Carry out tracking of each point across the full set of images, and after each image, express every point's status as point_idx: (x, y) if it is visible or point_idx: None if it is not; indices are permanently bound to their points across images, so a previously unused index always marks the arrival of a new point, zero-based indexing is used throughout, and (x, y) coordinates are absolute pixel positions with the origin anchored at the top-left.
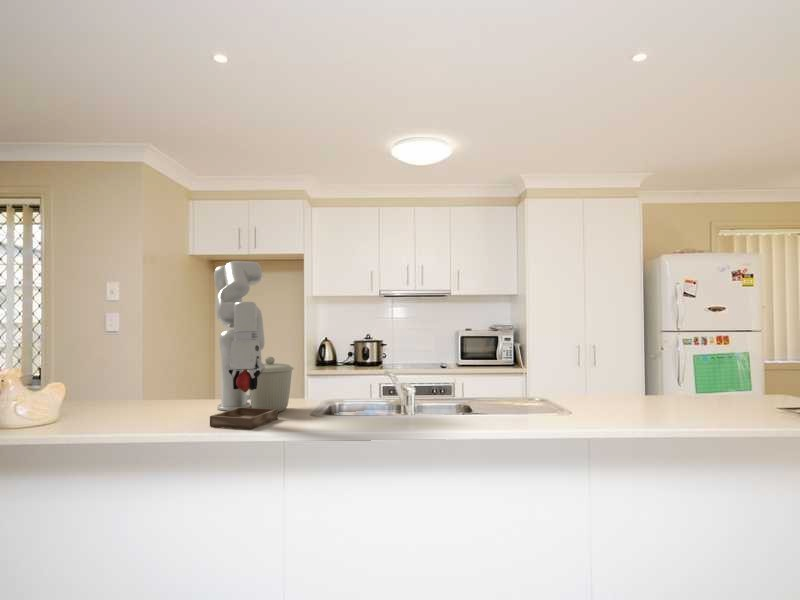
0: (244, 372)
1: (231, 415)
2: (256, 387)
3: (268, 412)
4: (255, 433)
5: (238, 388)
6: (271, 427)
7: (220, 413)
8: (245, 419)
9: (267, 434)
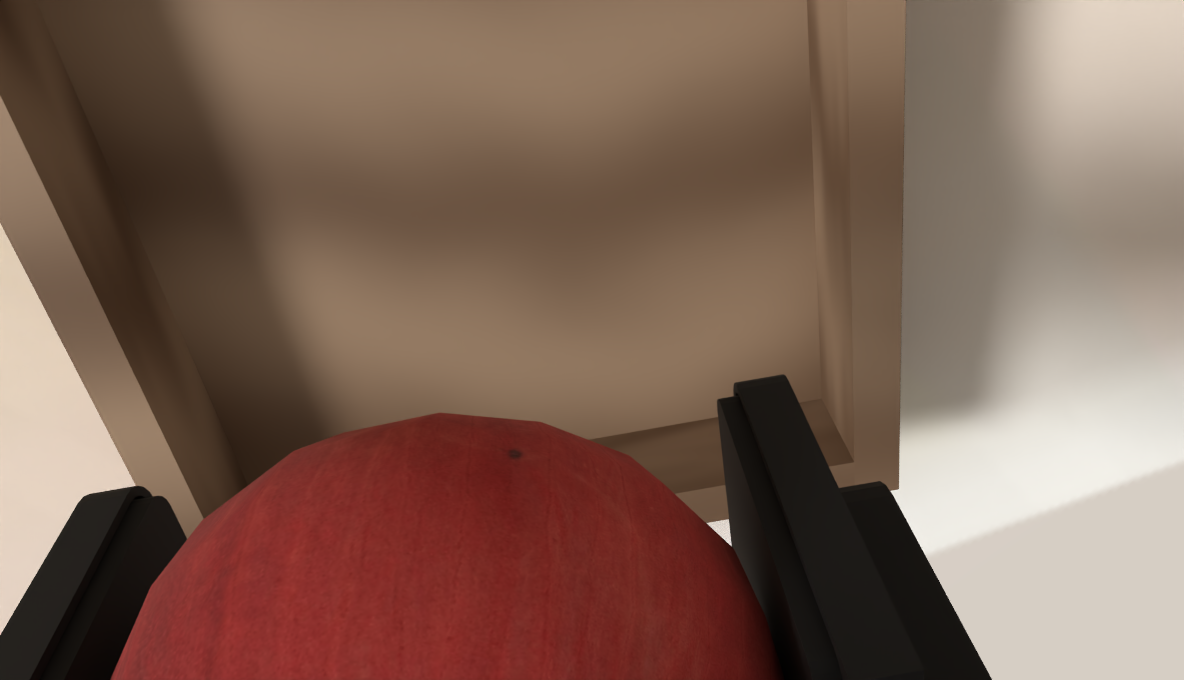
0: None
1: (88, 163)
2: (795, 406)
3: (902, 37)
4: (1004, 484)
5: (173, 547)
6: (1047, 209)
7: (151, 449)
8: None
9: (1160, 460)
